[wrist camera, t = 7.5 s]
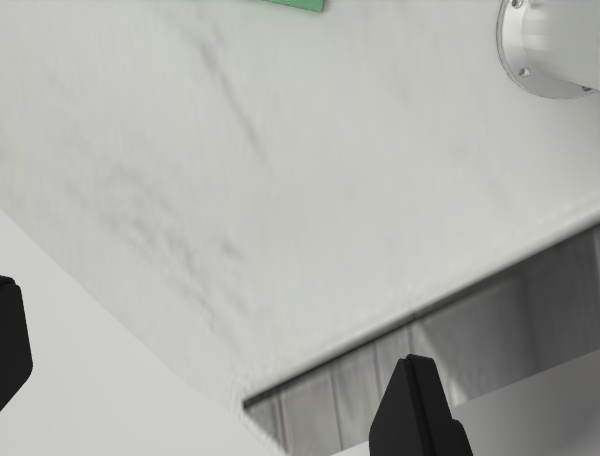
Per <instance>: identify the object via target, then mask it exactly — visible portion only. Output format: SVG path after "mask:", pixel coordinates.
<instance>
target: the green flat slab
mask: <svg viewBox="0 0 600 456" xmlns="http://www.w3.org/2000/svg"><path fill="white" fill-rule="evenodd" d="M265 1H269V2H274V3H279V4H283V5H288V6H293V7H298V8H302V9H307V10H312V11H316V12H321V13H322V10H323V4H324V0H265Z"/></svg>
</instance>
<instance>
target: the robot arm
mask: <svg viewBox="0 0 600 456" xmlns="http://www.w3.org/2000/svg"><path fill="white" fill-rule="evenodd" d="M512 1H513V0H504V1H503V4H502V7H501V11H500V15H499V20H498V29H497V42H498V50H499V54H500V57H501V60H502V63H503V66H504V67H505V69H506V71H507V72H508V74H509V75H510V77H511V78H512V79H513V80H514V81H515V82H516V83H517V84H518V85H519V86H521V87H522V88H524V89H526V90H527V91H529V92H531V93H534V94H536V95H539V96H542V97H547V98H552V99H572V98H577V97H583V96H586V95H589V94H592V93H595V92H597V91H600V0H516V4H515V6H512ZM521 69H523V73H522V74H521V75H519V73H520V71H521ZM582 86H583V87H582ZM32 368H33V362H32V357H31V349H30V343H29V337H28V331H27V325H26V319H25V312H24V306H23V300H22V294H21V289H20V287H19V286H18V285H16V284H15V281H14V280H13V279H12V278H10V277H6V276H1V275H0V411H1V410H2V409H3V408H4V407H5V405H6V404H7V403H8V402H9V401H10V400H11V398H12V397H13V396H14V395H15V394H16V392H17V391H18V390H19V389H20V388H21V387H22V385H23V384H24V383H25V382H26V381H27V379H28V378H29V376H30V374H31V372H32ZM369 449H370V456H473V453H472V450H471V447H470V444H469V442H468V438H467V435H466V432H465V430H464V428H463V425H462V424H461V423H460V422H459V421H458V420H455V419H452V416H451V413H450V410H449V407H448V403H447V400H446V397H445V394H444V390H443V387H442V384H441V381H440V377H439V374H438V371H437V368H436V365H435V362H434V360H433V359H432V358H428V357H423V356H418V355H413V354H408V355H407V357H406V358H405V359H401V358H400V359H399V360H398V362H397V365H396V367H395V369H394V372H393V374H392V377H391V379H390V382H389V384H388V386H387V389H386V391H385V394H384V396H383V399H382V401H381V403H380V406H379V408H378V411H377V413H376V416H375V418H374V420H373V423H372V425H371V428H370V433H369Z"/></svg>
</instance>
